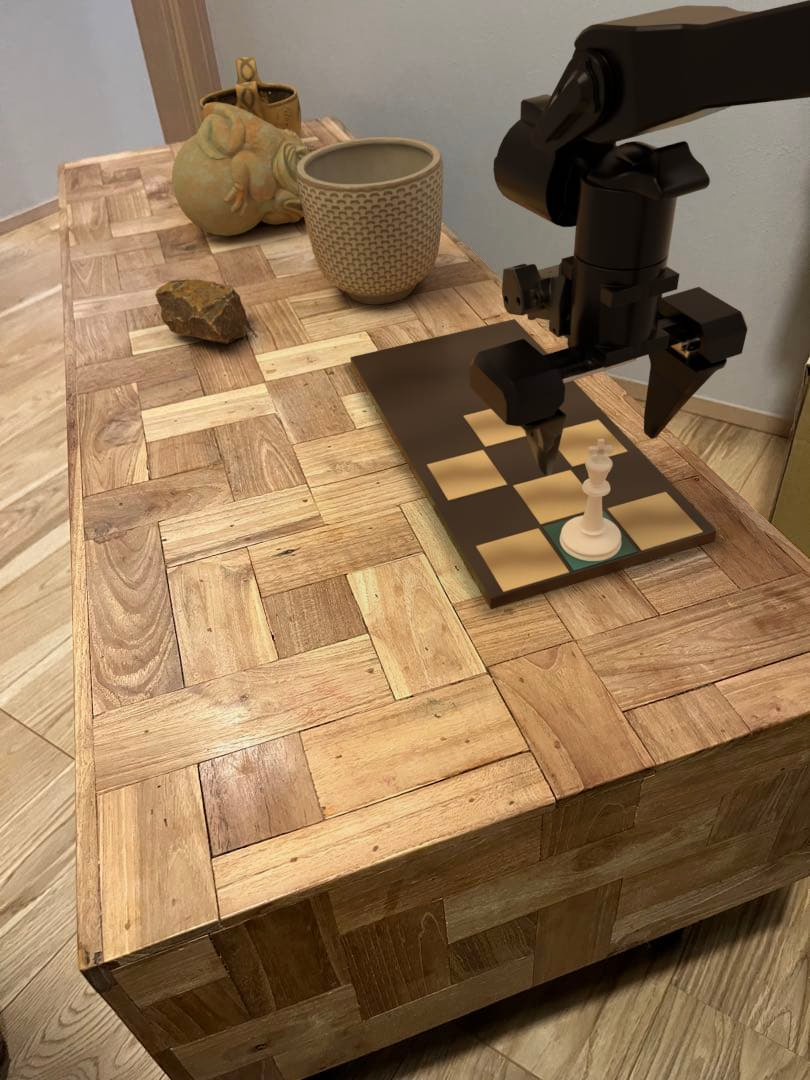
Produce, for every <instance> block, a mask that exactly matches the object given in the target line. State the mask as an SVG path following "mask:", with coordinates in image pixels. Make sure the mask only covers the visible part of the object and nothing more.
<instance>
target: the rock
mask: <svg viewBox="0 0 810 1080" xmlns="http://www.w3.org/2000/svg"><path fill="white" fill-rule="evenodd" d="M154 295H155V298H156V301H157V303H158V305H159V307H160V309H161V311H160V318H161V319H162V321H163V323H164V324H165V325H166V326H167V327H168V329H169V331H170V332H171V333H174V334H177V335H181V336H184V337H190V338H194V337H196V338H198V339H202V340H207V341H209V342H212V343H221V344H225V345H226V344H229V343H232V342H234V341H236V340H237V339H240V338H243V337H245V336H246V334H247V333H246V330H245V328H244V324H245V322H246V319H247V312H246V309H245V307H244V305H243V303H242V300H241V296H240V294H238V292H236V290H235V288H234V287H233V286H231V285H229V284H223V283H218V282H216V281H211V280H209V281H208V280H202V279H177V280H170V281H167V282H166V283H165V284H163V285H161V286H160V287H158V288H157V290H155V294H154Z"/></svg>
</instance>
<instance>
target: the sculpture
mask: <svg viewBox="0 0 810 1080" xmlns="http://www.w3.org/2000/svg"><path fill="white" fill-rule="evenodd" d="M203 112H204V118H205V119H204V121H203V122H201V124H200V125H199V128H198V130H197V132H196V133H195V134H194V135H192V136H191V137H190V138H189V139H187V140H186V141H185V142H184V143H183V145H182V146H181V147H180V149H179V150H178V152H177V154H176V156H175V159H174V162H173V165H172V173H171V175H172V176H171V181H172V182H171V183H172V189H173V193H174V196H175V197H174V198H175V199H176V202H177V205H178V206H179V208H180V209H181V211H182V212H183V214H184V216H186V218H188V219H189V220H190V222H191V223H192V224H194V225H195V226H196V227H198V228H199V229H200V230H201V229H202V230H203V231H205V232H206V233H210V234H213V235H216V236H223V237H224V236H226V237H229V236H231V237H232V236H237V235H241V234H244V233H246V232H249V231H250V230H252V229H253V228H255V227H256V226H257V225H258V224H259V223H260V222H261V223H264V224H267V225H274V226H277V225H282V224H288V223H290V224H294V223H297V222H299V221H300V219H303V218H304V214H303V210H302V205H301V201H300V197H299V192H298V187H297V180H296V167H297V164H298V163H299V161H300V160H301V159H302V158H303V157H305V156H306V155H308V154H309V153H311V152H310V151H309V149H308V148H307V146H306V144H305V143H304V142H303V140H302V139H301V138H300V136H299V137H298V136H297V135H296V133H295V132H293V131H291V130H289V129H285V130H281V129H279V128H276V127H275V126H273V125H272V124H270V123H268V122H266V121H263V120H262V119H260V118H258V117H257V116H255V115H253V114H252V113H249V112H247V111H246V110H243V109H240V108H238V107H236V106H233V105H229V104H225V103H219V102H212V103H208V104H207V103H206V104H205V106H204V110H203Z"/></svg>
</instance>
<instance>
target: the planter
mask: <svg viewBox="0 0 810 1080" xmlns="http://www.w3.org/2000/svg"><path fill="white" fill-rule="evenodd" d="M441 153H442V152H440V150H439V149H438V148H437V147H436V146H435V145H433V144H431V143H429V142H425V141H423V140H419V139H416V138H409V137H400V136H399V137H397V136H375V137H363V138H354V139H349V140H343V141H340V142H334V143H332V144H327V145H324V146H322V147H319V148H318V149H315V150H313V151H311V152H310V153H309V154H308V155H306V156H305V157H303V158H302V159H301V160H300V161H299V163H298V164H297V167H296V180H297V187H298V192H299V197H300V201H301V205H302V210H303V214H304V216H303V218H304V219H303V220H304V223H305V227H306V231H307V235H308V239H309V242H310V245H311V246H310V247H311V249H312V252H313V255H314V258H315V261H316V264H317V266H318V268H319V270H320V272H321V274H322V276H323V277H324V278H325V279H326V280H327V281H328V282H329V283H330V284H332V285H333V286H334V287H336V288H338V289H339V290H341V291H344V292H345V293H346V294H347V296H348V297H349V298H351V299H352V300H354V301H356V302H357V303H362V304H365V305H386V304H391V303H395V302H399V301H401V300H403V299H405V298H407V297H408V296H410V295H411V293H412V292H413V291H414V289H415V287H416V285H417V284H419V283H420V282H421V281H423V280H424V279H425V278H426V277H427V276H428V275H429V274H430V272H431V271H432V270H433V268H434V267H435V264H436V262H437V259H438V256H439V252H440V251H439V250H440V244H441V243H440V242H441V235H442V223H443V196H444V195H443V194H444V165H443V164H444V163H443V156H442V154H441Z"/></svg>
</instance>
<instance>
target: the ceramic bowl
mask: <svg viewBox="0 0 810 1080" xmlns="http://www.w3.org/2000/svg"><path fill="white" fill-rule="evenodd" d="M235 66H236V73H237V80H236V83H235V84H234V86H232V87H228V88H223V89H219V90H216V91H214V92H211V93H208V94H206V95H204V97H202V98H200V100H199V110H200V115H201V116H200V118H201V121H202V122H201V123H203V121H204V119H205V118H204V112H203V110H204V106H205V104H206V103H207V104H208V103H212V102H219V103H225V104H229V105H233V106H236V107H238V108H240V109H243V110H246V111H247V112H249V113H252V114H253V115H255V116H257V117H258V118H260V119H262V120H263V121H266V122H268V123H270V124H272V125H273V126H275V127H276V128H279V129H281V130H285V129H289V130H291V131H293V132H295V133H296V135H297V136H298V137H299V138H300V136H301V129H302V110H301V109H302V108H301V104H300V99H299V95H298V91H297V88H296V87H294V86H292V85H289V84H286V83H276V82H271V83H268V82H265V81H262V80H261V78H260V77H259V75H258V74H259V73H258V69H257V64H256V58H255V56H242V57H236V58H235Z"/></svg>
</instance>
